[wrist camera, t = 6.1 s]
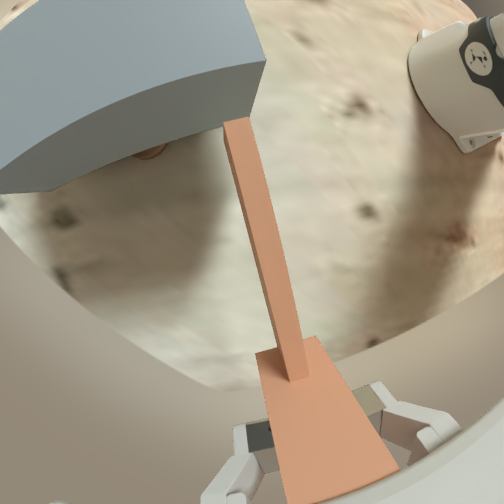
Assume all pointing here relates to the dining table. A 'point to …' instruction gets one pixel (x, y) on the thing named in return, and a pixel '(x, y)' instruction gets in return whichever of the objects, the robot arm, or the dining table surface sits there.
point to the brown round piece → (150, 152)
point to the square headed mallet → (300, 363)
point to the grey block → (117, 82)
